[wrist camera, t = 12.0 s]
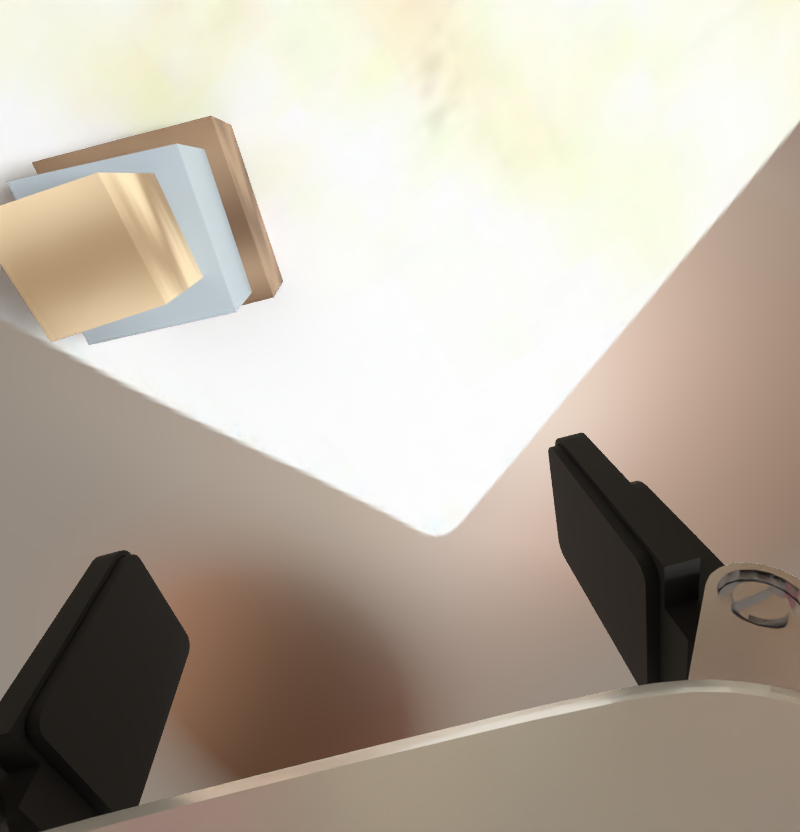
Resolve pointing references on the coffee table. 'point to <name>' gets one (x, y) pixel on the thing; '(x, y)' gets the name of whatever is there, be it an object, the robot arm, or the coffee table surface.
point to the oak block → (95, 251)
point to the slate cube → (199, 222)
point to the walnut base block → (228, 181)
